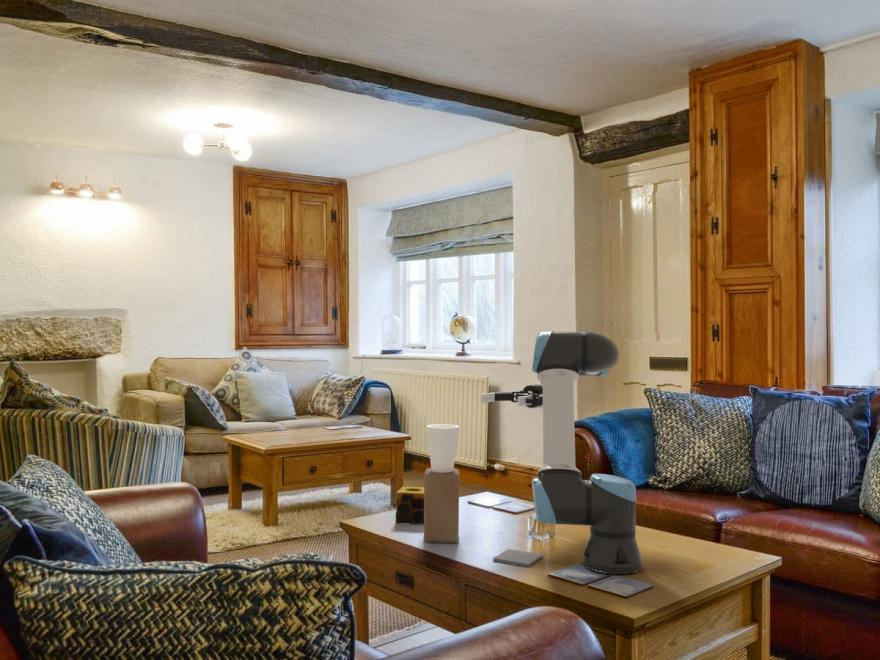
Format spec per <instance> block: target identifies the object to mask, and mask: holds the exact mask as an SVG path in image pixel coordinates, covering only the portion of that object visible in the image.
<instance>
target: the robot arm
mask: <svg viewBox="0 0 880 660" xmlns="http://www.w3.org/2000/svg"><path fill="white" fill-rule="evenodd" d="M535 338H536V339H535V344H534V351H533V361H532V368H531V370H532V372H533V373H535V374H536V375H537V376H536V377H537V380H538V381H539V382H540V383H534V384H527V385H526V386H525V387H523V388H522V390H517V391H516V390H515V391H513V390H510V391H498V392H497V391H496V392H494V391H493V392H492V391H491V392H490V391H488V392H486V393H481V394H480V403H481V404H484V403H485V404H487V403H489V404H494V403H495V402H507V401H508V402H511V403H517V407H523V406H525V407H526V408H530V409H535V408H536V409H537V408H539V409H542V467H541V468H540V469H539V470H538V471H537V475H536V476H537V477H534V478H532V480H531V486H532V496H533V497H532V498H533V504H534V506H533V507H534V512H535V516H536V518H537V520H538V522H540V523H541V524H545V525H546V524H548V525H554V526H557V525H569V526H570V525H571V526H574V525H575V526H589V538H588V540H587V543H586V545H585V549H584V551H583V553H582V554H583V555H582V565H583V567H584V568H586V567H588V568H590V569H593V570H597V571H602V572H606V573H609V574H608V575H615V574H624V575H628V574H627V573H633V572H636V571H639V570H640V569H641V568H642V569H643V558H642V554H641V552H640V547H639V546H638V542H637V537H636V527H637V525H636V524H637V523H636V519H637V515H636V514H637V512H636V511H637V510H636V509H637V504H636V503H637V501H638V499H637V491H636V490H637V489H636V485H635V484H634V483H633V482H632V481H631V480H629V479H627V478H626V477H625V478H624V477H621V476H616V475H612V474H606V473H592V474H591V475H590V477H589V479H582V471H581V470H579V468H577V467H576V466H577V465H576V438H575V436H576V435H575V433H576V431H575V430H576V429H575V393H574V390H575V388H574V387H575V385H574V384H575V382H577V381H578V380H579V379H580V377H598V378H599V377H607V376H608V375H609V372H610V371H609V370H612V369H613V368H614V367H615V366H616V364H617V363H618V362H619V358H620V353H619V348H618V346H617V344H616V343H615V341H613V340H612V339H611V338H609V337H607V336H606V335H603V334H602V333H597V332H592V331H555V330H552V331H541V332H539V333H537V335H536V337H535ZM542 473H543V475H542ZM541 476H542V477H541ZM588 568H587V569H588ZM590 569H589V570H590ZM639 572H640V571H639ZM633 574H634V573H633Z"/></svg>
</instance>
